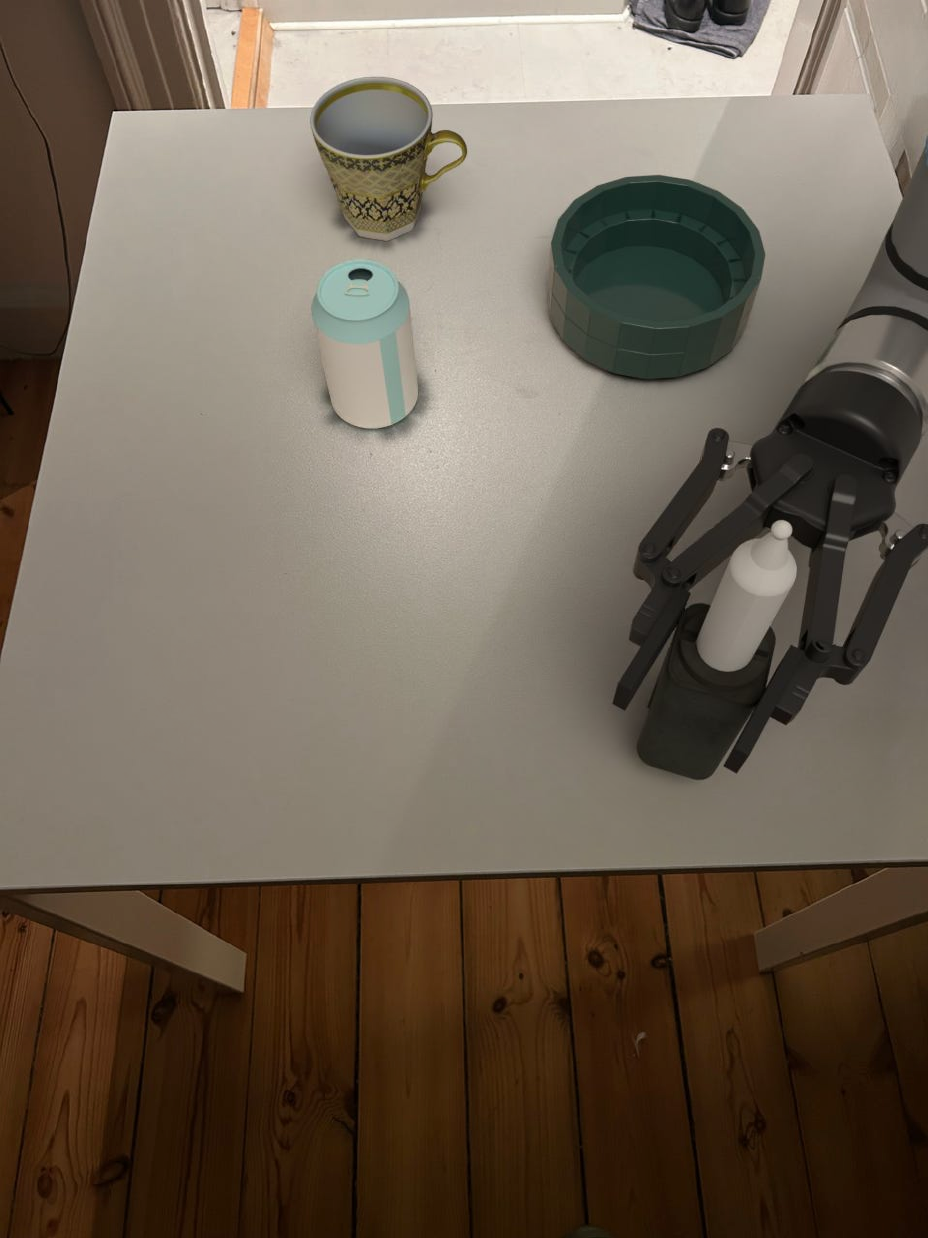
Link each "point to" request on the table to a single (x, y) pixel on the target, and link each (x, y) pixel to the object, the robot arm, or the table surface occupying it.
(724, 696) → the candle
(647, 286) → the bowl
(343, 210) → the ceramic cup
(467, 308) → the table surface
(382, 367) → the can
